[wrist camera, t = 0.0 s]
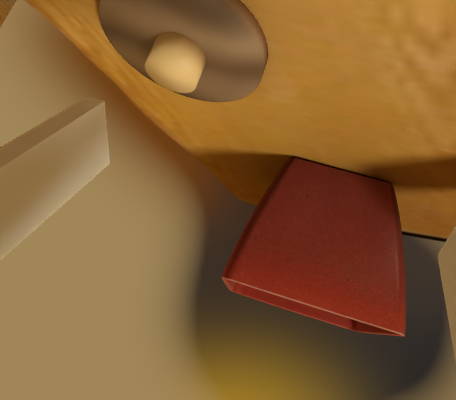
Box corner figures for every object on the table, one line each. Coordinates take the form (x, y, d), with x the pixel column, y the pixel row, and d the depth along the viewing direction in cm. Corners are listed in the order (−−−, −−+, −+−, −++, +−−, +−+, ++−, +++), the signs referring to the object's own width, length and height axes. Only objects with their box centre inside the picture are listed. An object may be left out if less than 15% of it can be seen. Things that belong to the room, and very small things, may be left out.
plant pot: (380, 224, 60) (356, 333, 56) (261, 190, 63) (229, 291, 58) (437, 180, 42) (408, 338, 37) (266, 135, 45) (220, 277, 40)
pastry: (149, 27, 31) (137, 52, 30) (201, 37, 30) (191, 64, 29) (163, 63, 35) (153, 86, 34) (209, 73, 34) (200, 97, 33)
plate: (75, -53, 27) (66, -37, 27) (268, -20, 25) (261, -2, 24) (137, 72, 41) (132, 84, 40) (267, 101, 38) (263, 115, 38)
